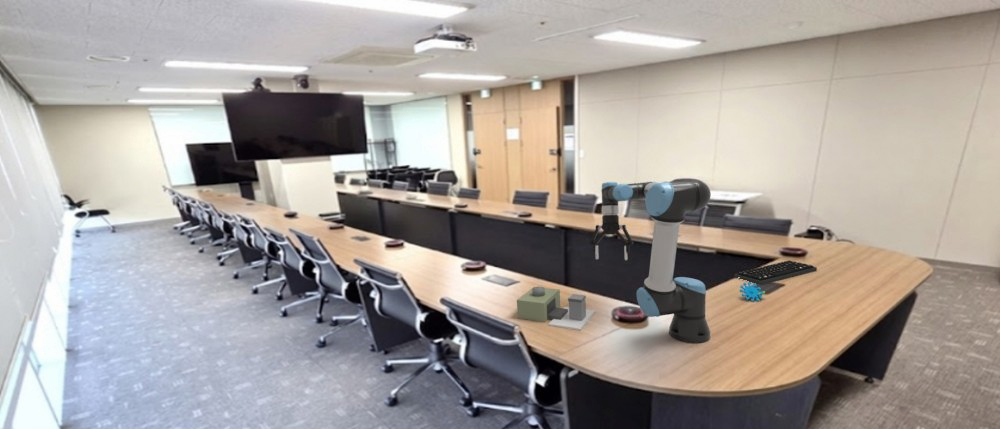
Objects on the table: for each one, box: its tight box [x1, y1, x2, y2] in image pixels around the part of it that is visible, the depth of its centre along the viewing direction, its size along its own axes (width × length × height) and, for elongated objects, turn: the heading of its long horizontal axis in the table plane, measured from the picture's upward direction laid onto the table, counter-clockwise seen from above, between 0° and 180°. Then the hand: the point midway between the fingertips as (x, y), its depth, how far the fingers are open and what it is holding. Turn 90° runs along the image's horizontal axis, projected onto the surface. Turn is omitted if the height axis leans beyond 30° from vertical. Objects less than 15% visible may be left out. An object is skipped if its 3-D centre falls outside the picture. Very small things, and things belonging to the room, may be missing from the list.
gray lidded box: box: [567, 293, 587, 321], centre depth 190 cm, size 6×6×10 cm
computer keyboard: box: [733, 260, 818, 286], centre depth 233 cm, size 45×16×4 cm, turn 112°
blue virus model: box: [739, 282, 766, 302], centre depth 201 cm, size 11×6×10 cm
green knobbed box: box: [516, 286, 596, 331], centre depth 196 cm, size 32×23×12 cm
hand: (611, 259), depth 197 cm, fingers open, 13 cm apart
